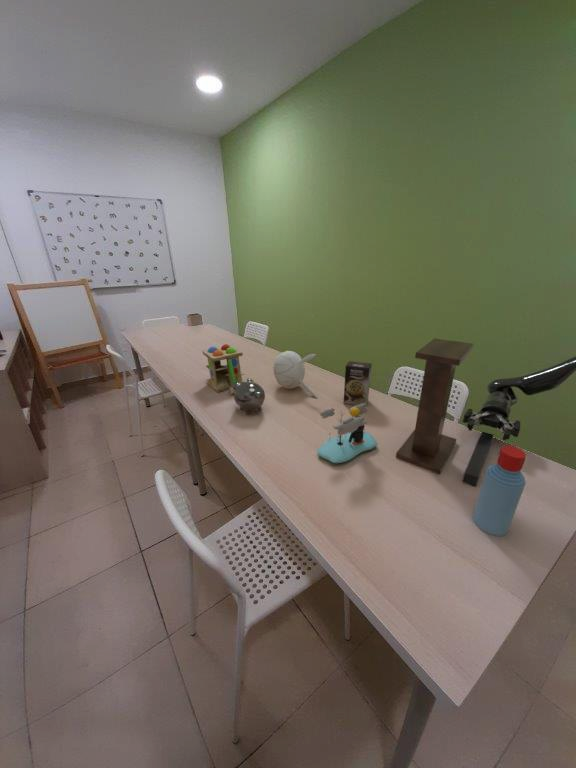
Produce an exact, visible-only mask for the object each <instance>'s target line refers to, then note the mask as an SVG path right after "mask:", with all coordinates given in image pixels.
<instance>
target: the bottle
mask: <svg viewBox="0 0 576 768" xmlns="http://www.w3.org/2000/svg"><path fill="white" fill-rule="evenodd" d="M525 486H526V477H525V476H524V474H523V472H522V470H520V471H518V472H512V471H508V470H505V469H503V468H502V467H500V466H499V465H498V463H497V462H496V463H493V464H490V465H489V466H488V467H487V468H486V470H485V473H484V476H483V481H482V483H481V487H480V491H479V493H478V497H477V501H476V504H475V507H474V511H473V514H472V521H473V522H474V525H476V527H478V528H479V529H480V530H481V531H483V532H484V533H487V534H490V535H492V536H496V537H503V536H505V535H507V534H508V532H509V530H510V527H511V523H512V521H513V519H514V516H515V514H516V511H517V508H518V506H519V502H520V500H521V498H522V495H523V491H524V489H525Z"/></svg>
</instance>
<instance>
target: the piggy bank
mask: <svg viewBox="0 0 576 768" xmlns="http://www.w3.org/2000/svg"><path fill="white" fill-rule="evenodd" d="M245 381H246V382H242V383H238V382H235V383H233V389H234V390H235V391H234V394H233V399H234V402H235V404H236V405H237V406H238V408H239V410H240V411H244V413H245V415H247V416H249V415H251V413H252V411H253V412H254V411H256V410H257V411H261V410H262V409H263V407H262V406H263V404H264V402H265V399H266V394H265V390H264V388H263V387H262V386H261V385H260V384H259V383H257V382H254V380H253V379H252V378H249V377H247V379H246V380H245Z"/></svg>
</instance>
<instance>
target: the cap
mask: <svg viewBox="0 0 576 768" xmlns="http://www.w3.org/2000/svg"><path fill="white" fill-rule="evenodd" d="M526 457H527V454H526V452H525V451H524V450H523V449H520V448H518V447H516V446H511V445H504V446H502V447H501V449H500V451H499V454H498V457H497V461H496V463H498V465H499V466H500V467H502V468H503V469H505V470H508V471H512V472H518V471H522V469H523V466H524V463H525V462H526V461H525V460H526Z"/></svg>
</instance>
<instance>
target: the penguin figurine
mask: <svg viewBox="0 0 576 768" xmlns="http://www.w3.org/2000/svg"><path fill="white" fill-rule="evenodd" d="M367 406H368V405H366V404H365V403H363V404H360V405H353V406H352V407H350V408H349V410H348V413H349V416H348V417H347V418H345V419H343V418H342V416H344V413H342V409H341V411H340V412H339V413H340V418H337V420H338V422H337V423H338V424H336V425H333V426H332V429H334V430H336V431H337V435H338V436H336V437H335V436H334V437H329V438H328V439H327V440H326V441H324V442H323V444H322V445H321V446H320V447H319V448H318V449H317V454H318V456H320V458H322V459H325V460H327V461H329V462H331V463H333V464H341V463H345V462H349V461H350V460H352V459H354V458H355V457H356V456H358V455H360V454H361V453H364V452H366V451H370V450H372V449H374V448H376V447H377V446H378V442H377V441H376V440H375V437H374V436H373V435H372V434H371V433H369V432H368V431H366V428H365V427H366V426H365V425H366V424H367V422H368V421H366V420H365V418H364V417H363V416H361V415H363V414H366V412H367V411H368V409H367ZM334 415H335V408H333V407H332V408H328V409H324V410H322V411H321V412H320V416H321V417H322V419H324V420H325V419H327V418H329V417H332V416H334ZM359 415H360V416H359ZM342 419H343V420H342ZM343 435H344V436H343ZM329 436H331V432H329Z"/></svg>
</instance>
